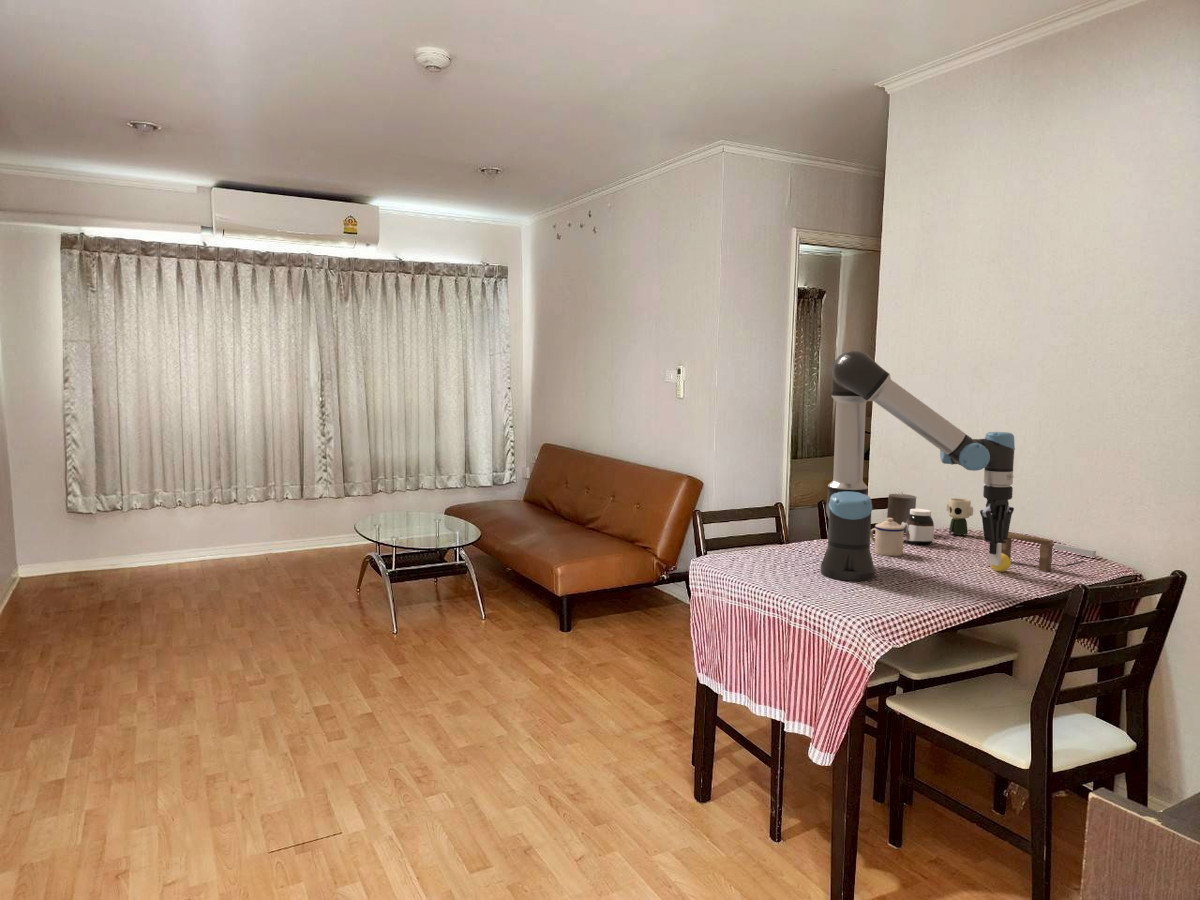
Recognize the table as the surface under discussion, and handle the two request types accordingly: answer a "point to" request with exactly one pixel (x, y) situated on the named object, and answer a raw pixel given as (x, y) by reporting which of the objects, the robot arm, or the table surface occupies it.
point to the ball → (1002, 563)
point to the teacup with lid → (888, 538)
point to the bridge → (1045, 544)
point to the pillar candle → (900, 507)
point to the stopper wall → (1075, 550)
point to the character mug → (959, 515)
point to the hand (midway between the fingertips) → (994, 564)
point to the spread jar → (919, 527)
